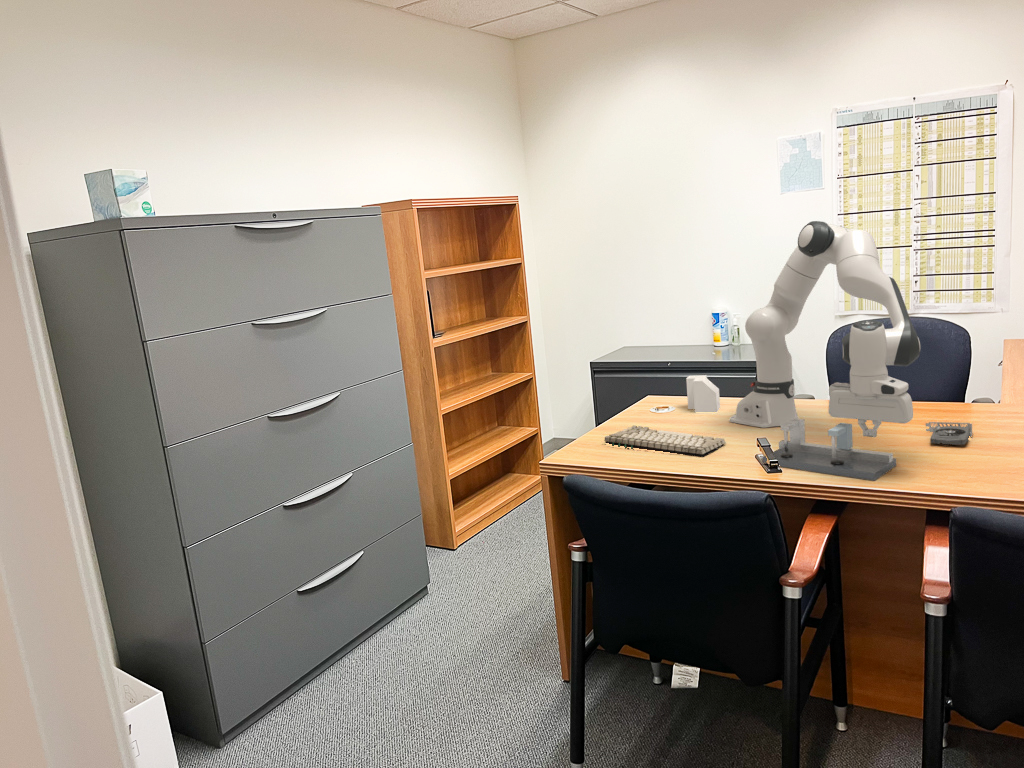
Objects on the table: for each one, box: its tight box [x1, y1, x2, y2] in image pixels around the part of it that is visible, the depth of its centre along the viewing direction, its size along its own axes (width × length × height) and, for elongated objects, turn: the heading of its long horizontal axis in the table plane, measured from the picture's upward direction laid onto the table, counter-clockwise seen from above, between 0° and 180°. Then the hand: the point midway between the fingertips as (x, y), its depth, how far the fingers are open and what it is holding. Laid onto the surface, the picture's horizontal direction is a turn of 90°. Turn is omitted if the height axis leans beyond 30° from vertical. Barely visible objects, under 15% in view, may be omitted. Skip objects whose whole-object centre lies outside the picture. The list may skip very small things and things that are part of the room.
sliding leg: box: [827, 422, 854, 459], centre depth 198 cm, size 3×8×8 cm, turn 133°
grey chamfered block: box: [685, 374, 721, 413], centre depth 277 cm, size 11×11×12 cm
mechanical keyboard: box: [603, 425, 727, 458], centre depth 238 cm, size 38×19×3 cm, turn 47°
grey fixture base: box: [762, 418, 897, 482], centre depth 200 cm, size 30×14×11 cm, turn 43°
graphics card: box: [925, 421, 973, 446], centre depth 212 cm, size 17×4×12 cm
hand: (869, 436), depth 194 cm, fingers closed
